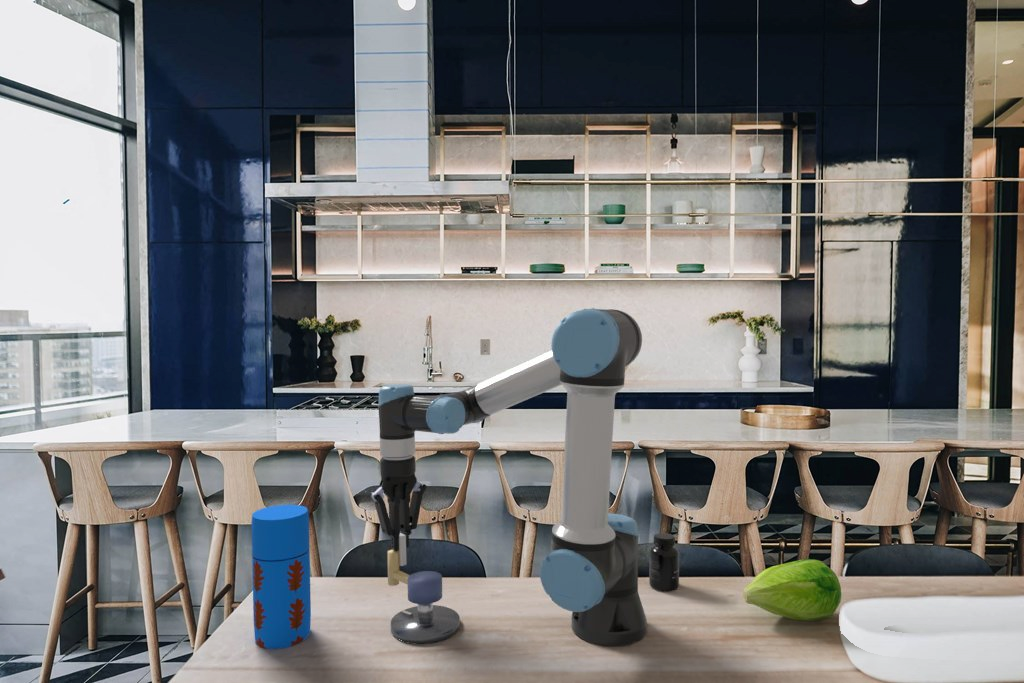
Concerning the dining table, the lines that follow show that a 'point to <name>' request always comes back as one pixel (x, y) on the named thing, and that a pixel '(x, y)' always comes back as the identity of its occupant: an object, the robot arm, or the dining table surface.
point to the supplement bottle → (664, 563)
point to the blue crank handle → (415, 581)
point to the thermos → (281, 575)
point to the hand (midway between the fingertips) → (400, 563)
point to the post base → (425, 624)
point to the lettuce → (796, 590)
